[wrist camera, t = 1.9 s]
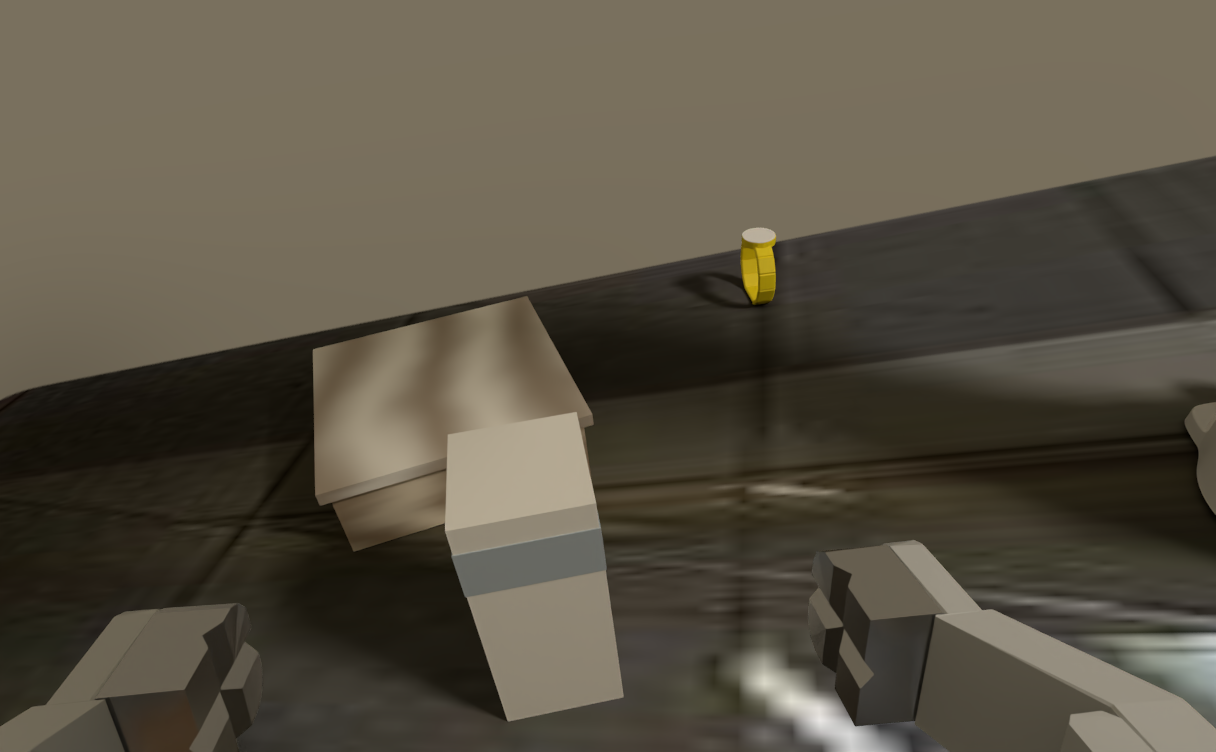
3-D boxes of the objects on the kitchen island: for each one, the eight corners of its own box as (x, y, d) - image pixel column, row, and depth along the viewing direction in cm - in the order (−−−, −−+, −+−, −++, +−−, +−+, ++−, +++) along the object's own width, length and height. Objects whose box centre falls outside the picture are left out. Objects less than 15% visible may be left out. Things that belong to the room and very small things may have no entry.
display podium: (537, 354, 58) (526, 296, 55) (601, 479, 45) (592, 414, 42) (336, 408, 54) (312, 349, 51) (345, 560, 42) (315, 495, 39)
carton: (605, 600, 38) (577, 410, 30) (624, 698, 33) (597, 503, 26) (501, 621, 38) (446, 433, 30) (506, 722, 33) (443, 532, 25)
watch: (781, 313, 60) (787, 251, 57) (749, 317, 60) (752, 255, 56) (761, 275, 65) (765, 216, 61) (731, 279, 65) (733, 220, 61)
